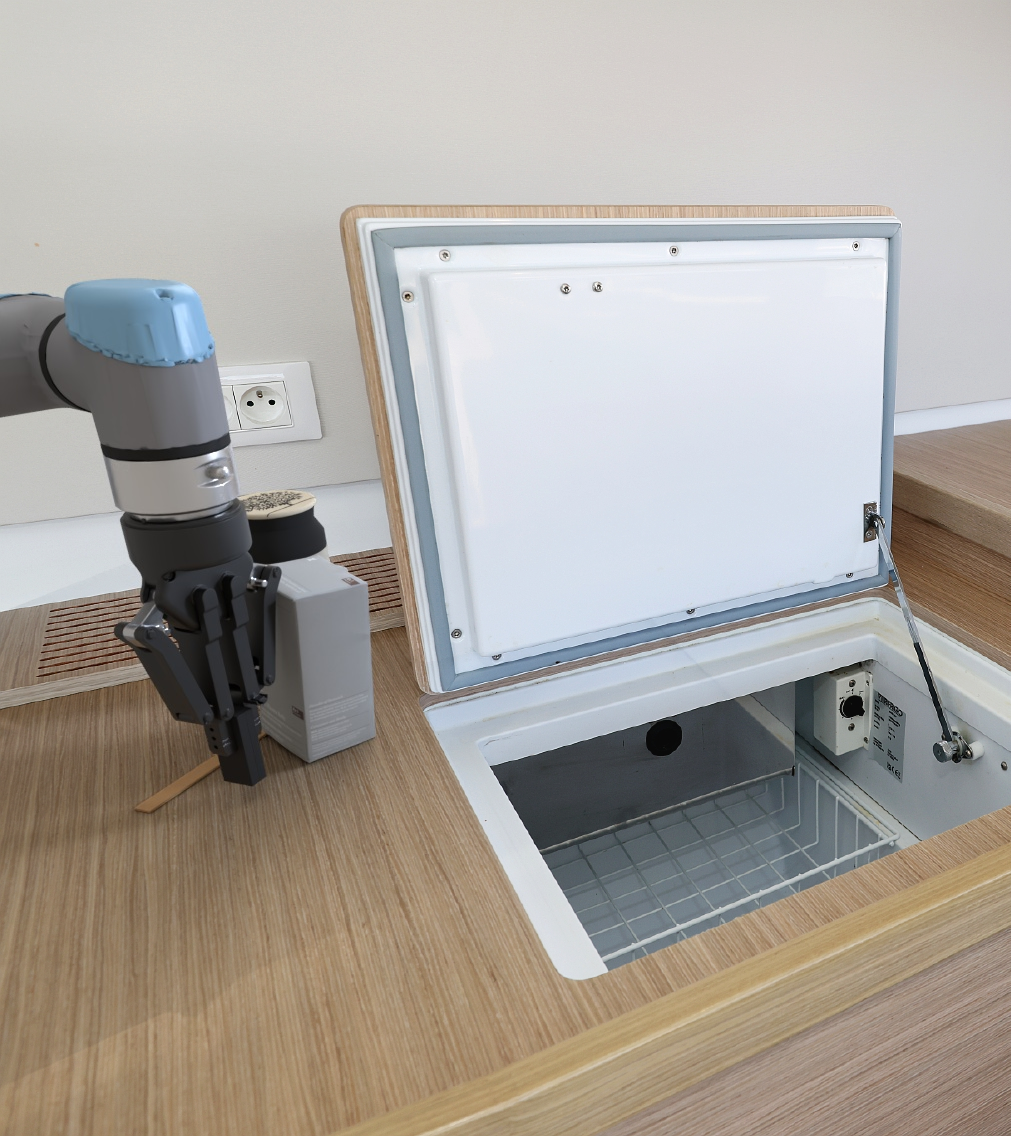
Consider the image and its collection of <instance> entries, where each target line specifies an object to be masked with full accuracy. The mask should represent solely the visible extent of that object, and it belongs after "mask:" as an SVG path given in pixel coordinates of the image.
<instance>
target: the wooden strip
mask: <svg viewBox="0 0 1011 1136" xmlns="http://www.w3.org/2000/svg"><path fill="white" fill-rule="evenodd" d="M266 736H269V734H266V733H265V732H263V731H261V734H260V735H259V736H258V738H259V741H261V740H262V739H263V738H265V737H266ZM219 768H221V767H220V763H219V759H218V755H217V754H213V755H212V756H211V757H210V758H208V759H207V760H205V761H204V762H202V763H201V764H199V765H197V766H196V767H194V768H193V769H191V770H190V771H188V772H186V773H185V774H184V775H182V776H180V777H179V778H178V779H176V780H174V781H173V782H172V783H169V784H168V785H166V786H165V787H164V788H162V789H161V790H159V791H158V792H156V793H155V794H153V795H152V796H150V797H148V798H147V799H145V800H144V801H142V802H140V803H138V805H136V806H135V807H134V808H133V809H134V811H137V812H143V813H146V814H152V813H154V812H155V811H156V810H158V809H159V808H160V807H162V806H164V805H165V804H167V803H168V802H169V801H171V800H173V799H174V798H175V797H177V796H178V795H180V794H181V793H183V792H184V791H186V790H187V789H188V788H190V787H192V786H193V785H195V784H196V783H198V782H200V781H201V780H203V779H204V778H205V777H206V776H208V775H209V774H212V773H213V772H214V771H216V770H217V769H219Z"/></svg>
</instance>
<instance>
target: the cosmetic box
mask: <svg viewBox="0 0 1011 1136" xmlns="http://www.w3.org/2000/svg"><path fill="white" fill-rule="evenodd" d="M271 565H272V566H278V567H280V568H281V570H282V575H281V579H280V582H279V586H278V589H277V593H276V670H275V681H274V683H273V684H272V685H271V686H264V687H263V689H262V690H261V691H260V693H262V694H268V699H267V701H266V703H265V704H264V705H262V706H259V705H258V709H259V717H260V722H261V725H262V731H263V732H265V733H266V734H268V736H269V737H271V738H272V739H274V741H276V742H277V743H279V744H280V745H281V746H283V747H284V748H285V749H286V750H288V751H290V752H291V753H292V754H293V755H296V756H297V757H298V758H300V759H301V760H303V761H304V762H307V763H309V764H310V763H313V762H314V761H317V760H320V759H323V758H325V757H328V756H330V755H332V754H335V753H338V752H341V751H343V750H346V749H348V748H351V747H354V746H356V745H358V744H361V743H363V742H366V741H368V740H371V739H373V738H375V737H376V736H377V733H376V718H375V698H374V697H375V696H374V681H373V680H374V678H373V665H372V664H373V663H372V646H371V642H372V641H371V623H370V605H369V604H370V600H369V585H368V582H367V581H365V580H363V579H361V578H359V577H358V576H355V575H354V574H352V573H350V572H349V571H348V568H347V567H346V566H344V565H338V564H334V563H333V562H331V561H330V562H329V561H327V560H326V559H324V558H322V557H320V556H318V555H317V556H312V557H307V558H303V559H298V560H293V561H287V562H282V563H276V564H271ZM255 669H259V666H255Z"/></svg>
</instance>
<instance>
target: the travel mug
mask: <svg viewBox="0 0 1011 1136" xmlns="http://www.w3.org/2000/svg"><path fill="white" fill-rule="evenodd" d="M237 498H238V499H239V500H240V501H242V502H243V503H244V504H245V508H246V513H247V518H248V523H249V528H250V532H251V537H252V545H251V547H250V549H249V550H248V551H247V552H248V553H249V554H250V555H251V557H252V559H253V563H259V564H265V565H271V564H276V563H282V562H287V561H293V560H298V559H303V558H307V557H312V556H317V555H318V556H320V557H322V558H324V559H326V560H327V561H329V562H331V558H330V553H329V548H328V543H327V537H326V529H325V527H324V525H323V524H322V523H321V522H320V521H319V520H318V518H316V516H315V505H316V504H317V498H316V496H315V495H313V494H312V493H310V492H307V491H304V490H303V491H301V490H296V489H276V490H275V489H274V490H268V491H267V490H265V491H259V492H258V491H257V492H253V493H249V494H246V495H242V496H239V497H237Z"/></svg>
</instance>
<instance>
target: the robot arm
mask: <svg viewBox="0 0 1011 1136" xmlns="http://www.w3.org/2000/svg"><path fill="white" fill-rule="evenodd" d="M215 342H216V341H215V340H214V336H213V335H212V334H211V332H210V330H209V326H208V322H207V318H206V314H205V310H204V306H203V303H202V299H201V297H200V295H199V294H198V292H197V291H196V290H195V289H194V288H192V286H190V285H188V284H186V283H184V282H181V281H177V280H172V279H171V280H170V279H150V278H106V279H105V278H102V279H91V280H84V281H78V282H75V283H71V284H70V285H69V286H68V287H67V288H66V289H65V291H64V294H63V298H62V297H60V296H52V295H50V294H47V293H39V292H28V293H14V292H7V293H0V418H7V417H8V418H9V417H13V416H19V415H24V414H25V415H26V414H31V413H37V412H43V411H49V410H55V409H72V410H76V411H81V412H86V413H88V414H91V417H92V419H93V423H94V427H95V430H96V433H97V437H98V441H99V444H100V449H101V453H102V457H103V461H104V465H105V469H106V474H107V479H108V482H109V486H110V491H111V494H112V499H113V503H114V506H115V508H117V509H118V510H119V511H122V512H123V514H122V516H121V517H120V518H119V522H120V523H119V524H120V527H121V531H122V535H123V539H124V542H125V546H126V547H125V548H126V550H127V554H128V555H127V556H128V558H129V560H130V562H131V563H132V564H133V566H134V567H135V568H136V570H137V571H138V572H139V574H140V576H141V587H140V591H139V599H140V602H141V603H142V606H141V608H140V609H139V610H138V612H137V613H136V614H135V615H134V617H133V618H132V619H131V621H125V620H123V621H119V622H117V623H116V624H115V626H114V628H113V635H114V636H115V637H116V638H117V639H118V640H120V641H121V642H122V643H124V644H125V645H127V646H128V647H130V648H131V649H132V651H133V652H134V653H135V655H136V657H137V658H138V660H139V661H140V663H141V666H142V667H143V669H144V670H145V672H146V674H147V676H148V677H149V679H150V681H151V683H152V684H153V686H154V688H155V689H156V691H157V693H158V694H159V696H160V698H161V699H162V701H163V703H164V705H165V707H166V709H167V710H168V711H169V713H170V715H171V717H172V718H173V720H175V721H177V722H181V723H182V722H183V723H187V724H192V725H193V724H194V725H199V726H203V730H204V734H205V738H206V742H207V746H208V750H209V751H210V752H211V753H212V755H216V754H217V755H218V759H219V763H220V767H219V768H220V771H221V776H222V780H223V782H226V783H232V784H237V785H242V786H246V787H254V786H256V785H257V784H258V783H260V782H261V781H262V780H264V779H265V778H267V777H268V776H267V775H268V774H267V770H266V766H265V761H264V757H263V753H262V748H261V745H260V740H259V738H258V736H259V735H260V734H261V731H262V725H261V721H260V710H259V706H262V705H264V704H265V703H266V701H267V699H268V694H262V693H260V691H261V690H262V689H263V687H264V686H271V685H272V684H273V683H274V681H275V670H276V593H277V589H278V586H279V582H280V579H281V575H282V570H281V568H280V567H278V566H272V565H265V564H259V563H253V559H252V557H251V555H250V554H249V553H248V552H247V551H248V550H249V549H250V547H251V545H252V537H251V532H250V528H249V523H248V518H247V513H246V508H245V504H244V503H243V502H242V501H240V500H239V499H238V498H239V497H238V496H240V495H241V493H242V486H241V482H240V477H239V472H238V471H239V470H238V467H237V462H236V456H235V452H234V448H233V442H232V440H231V434H230V426H229V421H228V420H229V419H228V415H227V409H226V404H225V399H224V393H223V388H222V382H221V377H220V372H219V366H218V361H217V355H216V343H215ZM163 620H164V621H165V622H166V623H167V627H166V624H165V623H164V621H163ZM169 636H171V638H170V637H169ZM172 638H173V639H174V640H175V641H176V642H177V644H176V643H175V641H173V640H172ZM177 645H178V646H177ZM256 666H259V669H256Z"/></svg>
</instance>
